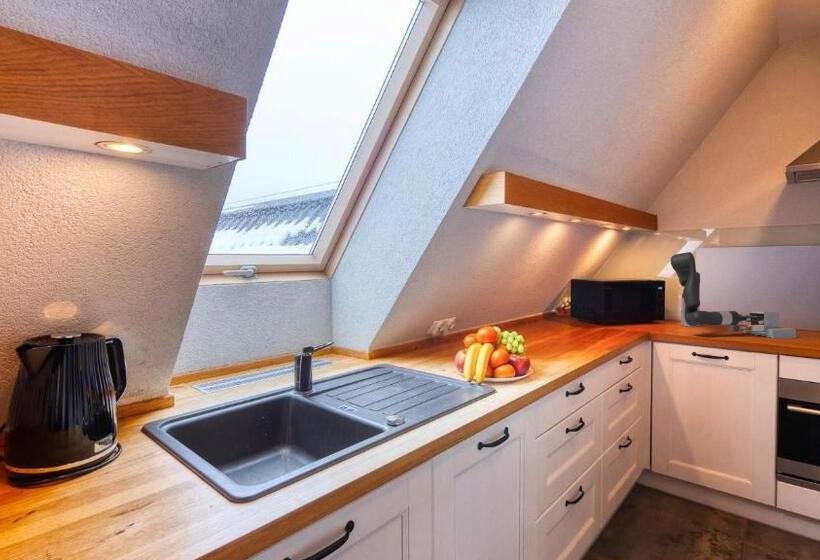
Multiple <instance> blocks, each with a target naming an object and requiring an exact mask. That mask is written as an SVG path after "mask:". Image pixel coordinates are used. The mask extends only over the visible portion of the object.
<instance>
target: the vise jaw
mask: <svg viewBox="0 0 820 560" xmlns="http://www.w3.org/2000/svg"><path fill="white" fill-rule="evenodd" d="M743 330H748V331H764V325H751V324H750V325H747V326H740V325H729V332H735V333H737V332H740V331H743Z"/></svg>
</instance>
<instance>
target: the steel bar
mask: <svg viewBox="0 0 820 560" xmlns="http://www.w3.org/2000/svg"><path fill="white" fill-rule="evenodd" d="M763 312H764V333H768V329H775V328H780V327H779V326H780V325H779V324H780V322H779V319H780V318H779V317H780V312H779V311H763Z"/></svg>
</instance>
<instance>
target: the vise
mask: <svg viewBox="0 0 820 560" xmlns="http://www.w3.org/2000/svg"><path fill="white" fill-rule="evenodd" d="M742 332H744V334H747V333H749V334H748V335H753V334H754V335H753V336H758V335H761V336H760V337H763V336H766V337H765V338H769V337H771V338H770V339H796V338H797V335H796V332H797V331H796V328H790V327H785V328H783V327H782V328H780V327H779V328H775V329H768V333H764V331H748V330H742Z"/></svg>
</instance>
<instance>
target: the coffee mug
mask: <svg viewBox="0 0 820 560" xmlns="http://www.w3.org/2000/svg"><path fill="white" fill-rule="evenodd" d="M764 312H765V311H749V315H751V316H757V317H759V316H762V317H764ZM750 325H764V320H763V321H758V322H750Z"/></svg>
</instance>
